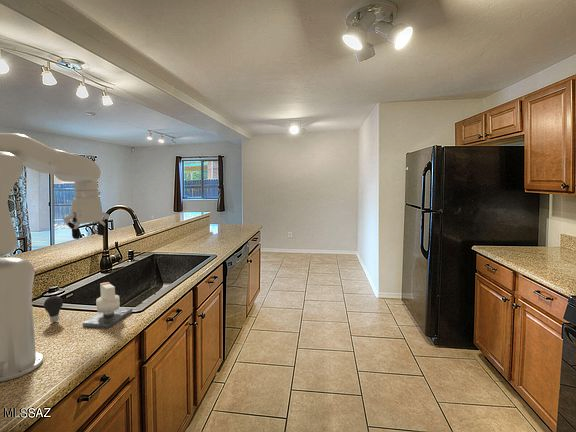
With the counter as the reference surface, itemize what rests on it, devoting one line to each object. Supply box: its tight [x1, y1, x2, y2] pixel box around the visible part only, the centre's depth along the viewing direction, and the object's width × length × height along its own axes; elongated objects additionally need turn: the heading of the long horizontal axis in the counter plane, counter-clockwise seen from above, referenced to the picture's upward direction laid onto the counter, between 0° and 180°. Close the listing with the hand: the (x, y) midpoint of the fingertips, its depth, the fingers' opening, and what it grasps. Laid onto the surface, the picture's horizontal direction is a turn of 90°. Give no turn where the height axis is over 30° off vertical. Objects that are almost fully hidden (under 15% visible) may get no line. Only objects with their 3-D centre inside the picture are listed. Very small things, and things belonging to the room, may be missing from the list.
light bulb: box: [43, 295, 64, 323], centre depth 112 cm, size 6×6×10 cm
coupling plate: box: [82, 307, 133, 329], centre depth 116 cm, size 14×10×4 cm
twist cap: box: [95, 281, 121, 313], centre depth 115 cm, size 8×8×9 cm
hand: (88, 236), depth 122 cm, fingers open, 9 cm apart
